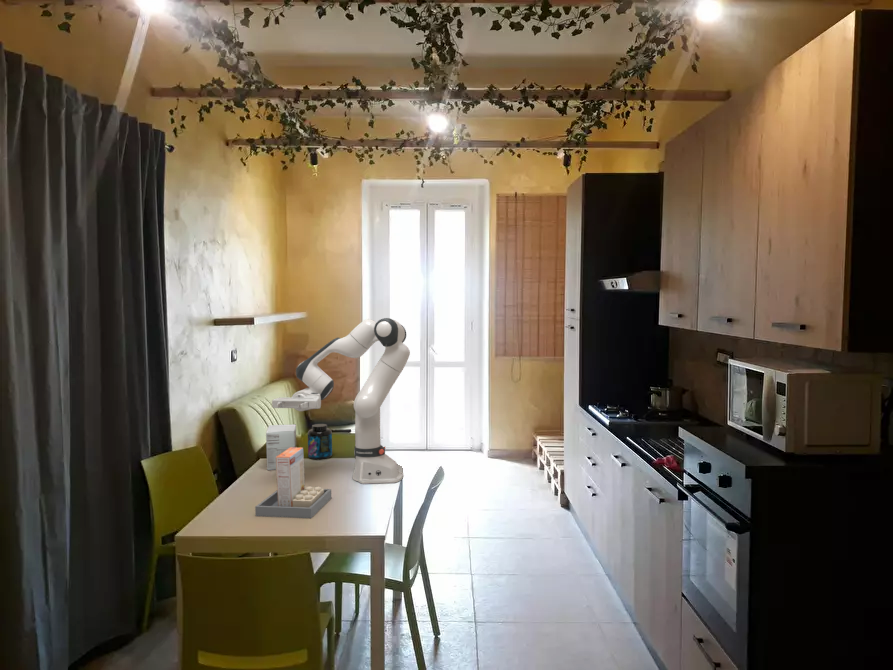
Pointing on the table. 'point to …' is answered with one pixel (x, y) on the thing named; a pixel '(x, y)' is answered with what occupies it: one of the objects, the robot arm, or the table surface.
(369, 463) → the robot arm
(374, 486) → the table surface
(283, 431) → the supplement box
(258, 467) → the table surface
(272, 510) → the tote
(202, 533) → the table surface
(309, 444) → the container
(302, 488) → the cracker box
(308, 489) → the egg carton
